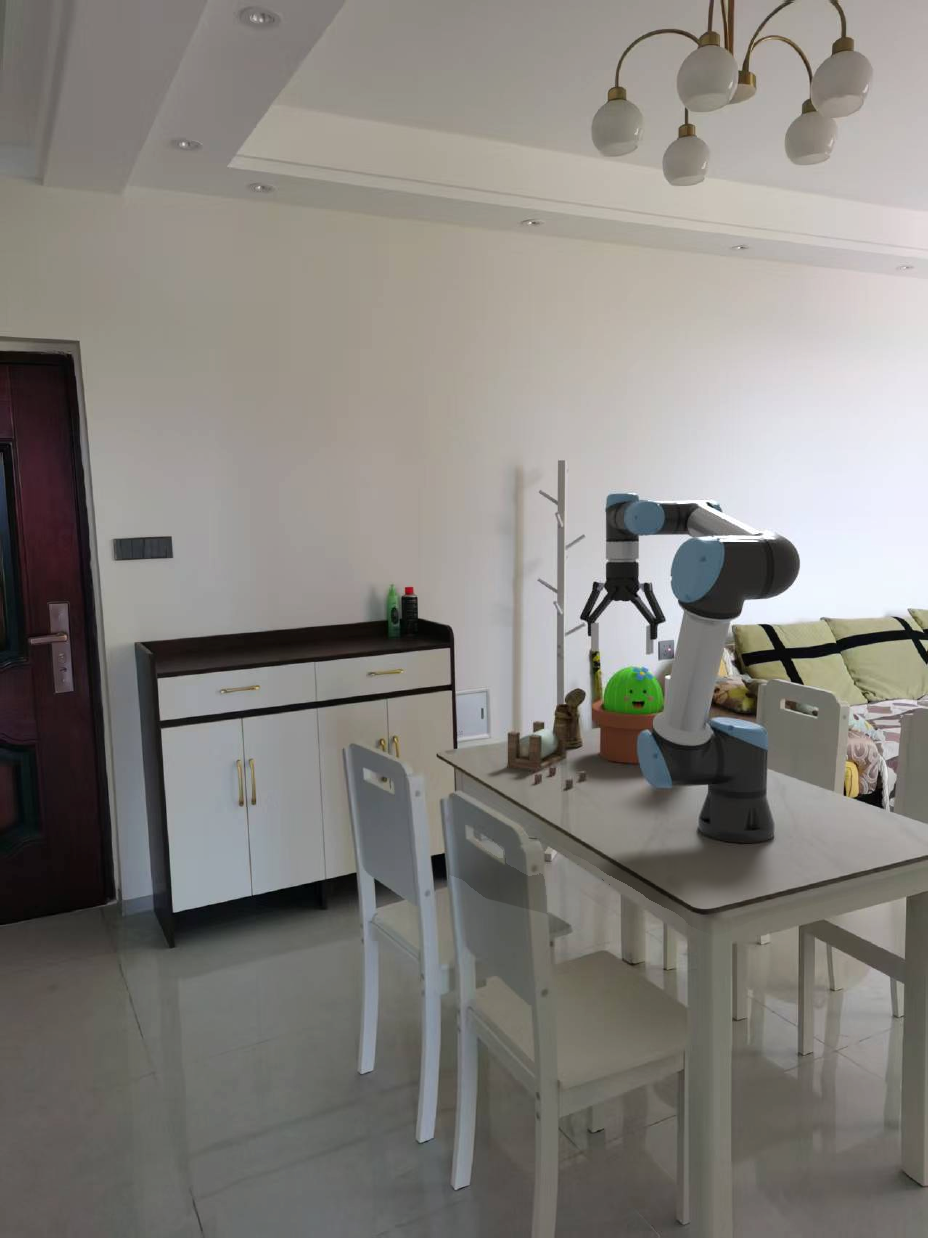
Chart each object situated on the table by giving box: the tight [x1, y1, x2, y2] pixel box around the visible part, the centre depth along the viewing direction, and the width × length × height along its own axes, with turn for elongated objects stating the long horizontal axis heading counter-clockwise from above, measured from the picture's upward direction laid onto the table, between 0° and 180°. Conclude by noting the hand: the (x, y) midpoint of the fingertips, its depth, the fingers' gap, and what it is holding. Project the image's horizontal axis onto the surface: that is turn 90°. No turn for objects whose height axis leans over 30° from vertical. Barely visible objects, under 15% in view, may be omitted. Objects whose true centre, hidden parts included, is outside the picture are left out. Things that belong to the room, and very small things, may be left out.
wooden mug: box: [552, 687, 587, 749], centre depth 261 cm, size 9×14×18 cm, turn 14°
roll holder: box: [506, 720, 567, 773], centre depth 246 cm, size 16×9×9 cm, turn 147°
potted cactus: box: [591, 664, 665, 765], centre depth 250 cm, size 22×22×25 cm
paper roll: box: [520, 728, 558, 759], centre depth 245 cm, size 14×7×7 cm, turn 147°
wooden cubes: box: [534, 765, 587, 790], centre depth 229 cm, size 9×10×2 cm
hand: (621, 652), depth 217 cm, fingers open, 13 cm apart
